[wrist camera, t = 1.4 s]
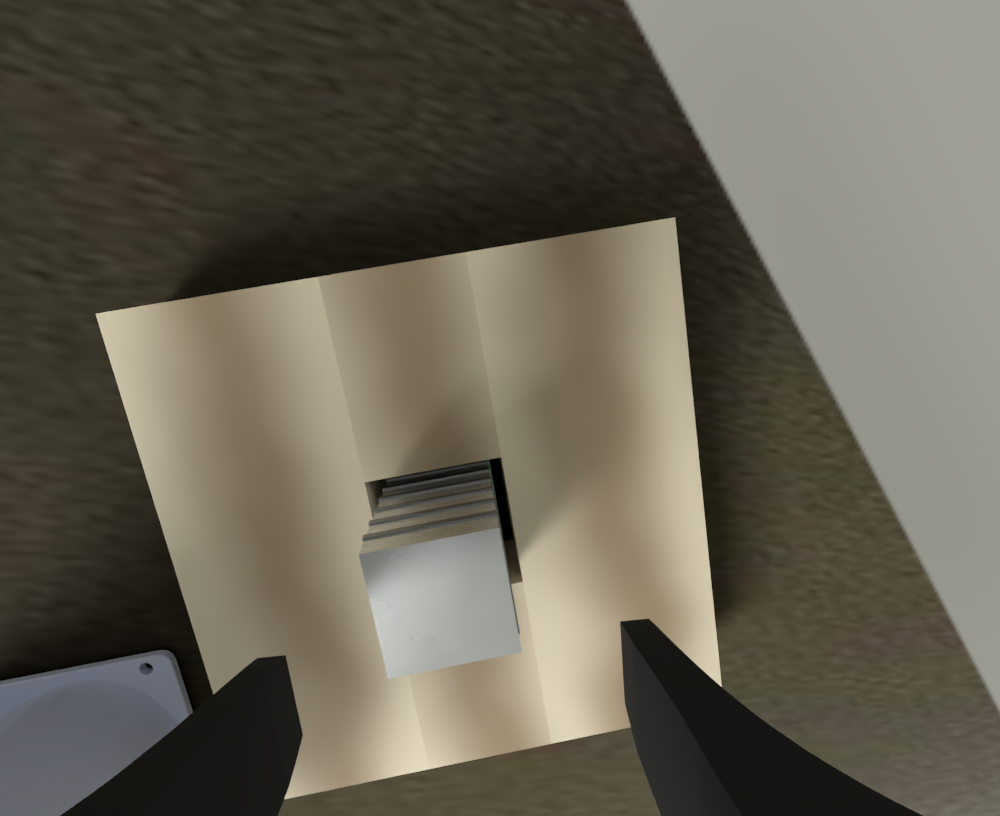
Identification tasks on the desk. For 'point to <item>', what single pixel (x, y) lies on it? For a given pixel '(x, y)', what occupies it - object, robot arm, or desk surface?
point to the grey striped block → (439, 571)
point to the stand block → (423, 447)
